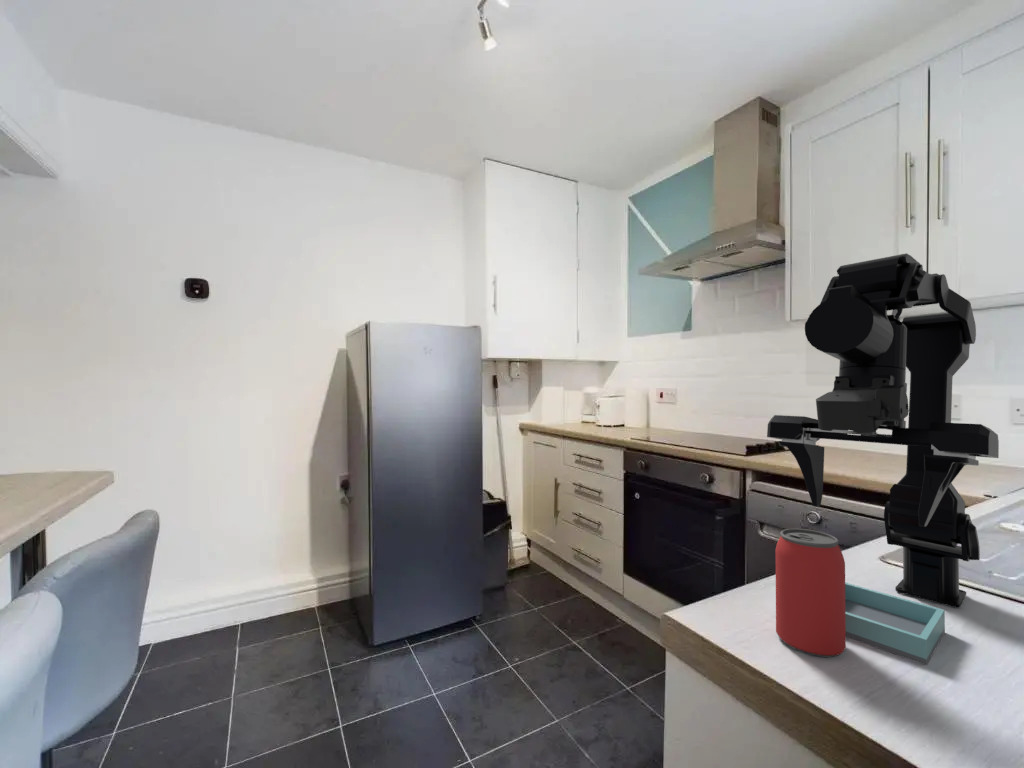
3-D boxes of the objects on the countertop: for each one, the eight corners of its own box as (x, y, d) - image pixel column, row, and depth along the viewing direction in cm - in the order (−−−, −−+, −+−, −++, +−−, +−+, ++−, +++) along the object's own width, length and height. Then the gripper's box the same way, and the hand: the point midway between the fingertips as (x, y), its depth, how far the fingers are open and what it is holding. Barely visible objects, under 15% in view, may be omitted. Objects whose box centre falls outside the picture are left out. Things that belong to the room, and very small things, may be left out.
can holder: (841, 600, 61) (841, 581, 61) (944, 632, 53) (944, 610, 53) (813, 625, 55) (813, 603, 55) (926, 665, 47) (926, 639, 47)
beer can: (780, 621, 56) (780, 523, 56) (847, 640, 51) (846, 534, 52) (770, 645, 51) (770, 537, 51) (843, 668, 46) (842, 550, 46)
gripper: (748, 362, 52) (739, 498, 51) (977, 351, 37) (974, 544, 36) (791, 377, 59) (784, 498, 57) (1000, 372, 44) (998, 537, 42)
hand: (865, 515), depth 48 cm, fingers open, 9 cm apart
